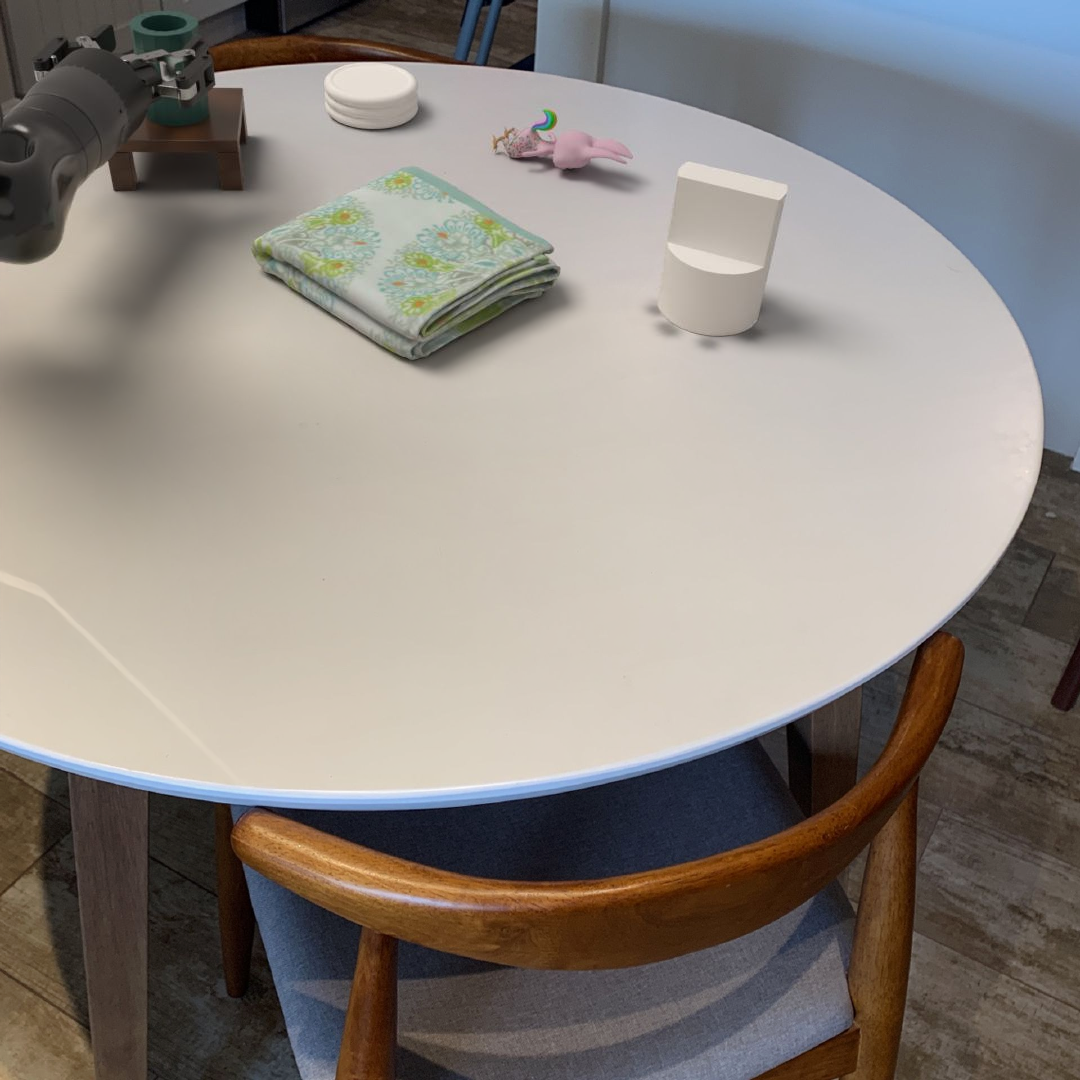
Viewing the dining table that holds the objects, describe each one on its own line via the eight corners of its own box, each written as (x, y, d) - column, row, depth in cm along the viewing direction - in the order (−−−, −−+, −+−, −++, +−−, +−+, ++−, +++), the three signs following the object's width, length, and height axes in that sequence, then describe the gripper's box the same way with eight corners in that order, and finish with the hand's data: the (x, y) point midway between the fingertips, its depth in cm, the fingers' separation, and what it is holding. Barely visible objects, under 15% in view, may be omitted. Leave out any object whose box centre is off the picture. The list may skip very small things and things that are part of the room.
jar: (141, 126, 111) (126, 34, 105) (148, 99, 115) (133, 10, 110) (207, 126, 112) (195, 35, 106) (211, 100, 116) (200, 11, 110)
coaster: (379, 139, 124) (378, 107, 121) (306, 112, 127) (304, 80, 125) (436, 109, 130) (436, 77, 127) (365, 84, 133) (364, 53, 131)
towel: (416, 374, 94) (415, 319, 90) (250, 269, 104) (243, 216, 100) (567, 293, 104) (572, 241, 101) (403, 204, 114) (402, 154, 110)
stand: (113, 190, 112) (103, 140, 109) (127, 134, 121) (118, 86, 117) (242, 190, 114) (237, 140, 110) (247, 135, 122) (242, 87, 119)
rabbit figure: (486, 171, 123) (617, 188, 117) (480, 114, 119) (614, 128, 113) (515, 149, 127) (642, 164, 121) (509, 93, 123) (641, 106, 117)
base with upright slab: (644, 319, 102) (663, 190, 94) (674, 271, 108) (694, 146, 100) (744, 346, 100) (773, 217, 92) (769, 295, 106) (798, 170, 98)
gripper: (160, 78, 93) (227, 7, 104) (-15, 56, 93) (72, -12, 105) (173, 168, 98) (236, 90, 110) (8, 146, 99) (88, 71, 110)
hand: (156, 40), depth 107 cm, fingers open, 8 cm apart
